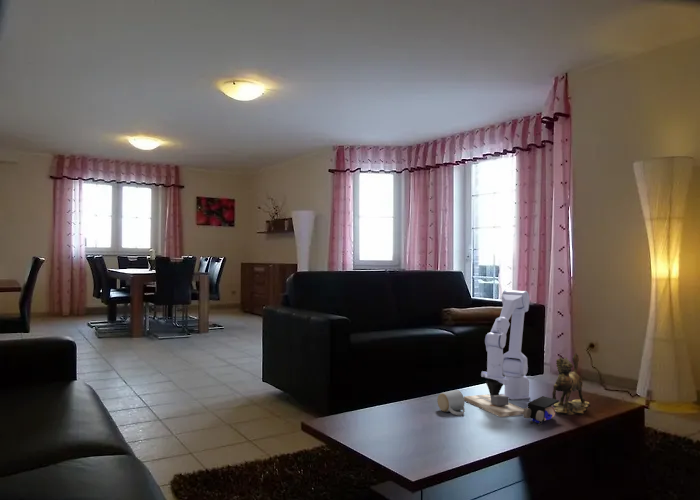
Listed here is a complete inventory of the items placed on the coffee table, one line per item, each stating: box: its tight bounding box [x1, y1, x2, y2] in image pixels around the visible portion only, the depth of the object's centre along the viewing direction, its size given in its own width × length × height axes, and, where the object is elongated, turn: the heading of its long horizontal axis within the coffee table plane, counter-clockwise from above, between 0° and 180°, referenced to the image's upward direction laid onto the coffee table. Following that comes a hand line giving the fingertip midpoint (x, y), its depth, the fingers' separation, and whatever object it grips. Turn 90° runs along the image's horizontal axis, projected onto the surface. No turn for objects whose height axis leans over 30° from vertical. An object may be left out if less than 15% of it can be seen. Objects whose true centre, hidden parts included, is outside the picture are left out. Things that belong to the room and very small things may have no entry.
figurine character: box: [522, 396, 560, 427], centre depth 180 cm, size 7×8×15 cm
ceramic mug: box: [436, 389, 466, 416], centre depth 189 cm, size 10×8×7 cm
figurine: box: [551, 352, 591, 416], centre depth 199 cm, size 13×25×20 cm, turn 136°
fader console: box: [463, 393, 525, 418], centre depth 197 cm, size 12×23×2 cm, turn 21°
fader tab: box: [491, 393, 510, 406], centre depth 194 cm, size 5×4×3 cm
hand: (494, 399), depth 197 cm, fingers closed
